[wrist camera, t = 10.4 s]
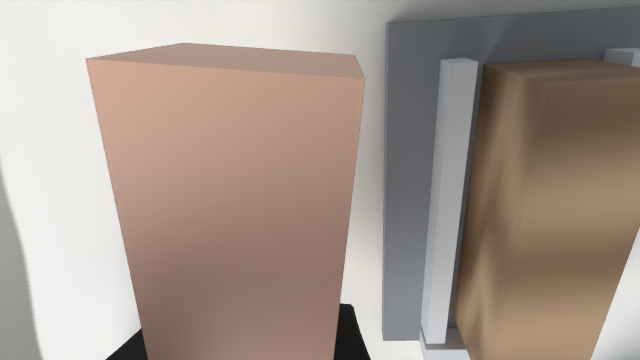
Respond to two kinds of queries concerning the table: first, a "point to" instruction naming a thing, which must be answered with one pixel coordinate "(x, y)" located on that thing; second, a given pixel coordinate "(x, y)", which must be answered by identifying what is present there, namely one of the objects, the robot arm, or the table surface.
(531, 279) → the tan cardboard box
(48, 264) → the table surface
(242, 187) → the block
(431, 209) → the jig
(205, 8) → the table surface
